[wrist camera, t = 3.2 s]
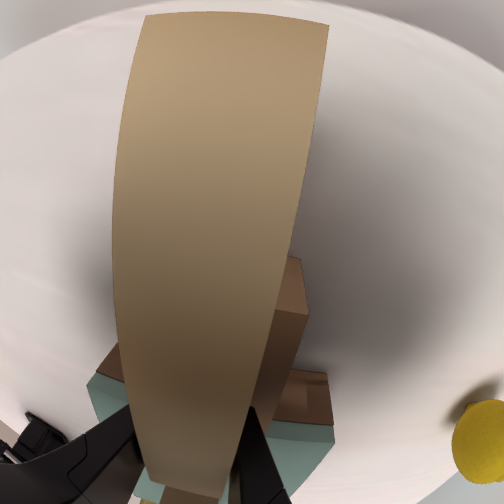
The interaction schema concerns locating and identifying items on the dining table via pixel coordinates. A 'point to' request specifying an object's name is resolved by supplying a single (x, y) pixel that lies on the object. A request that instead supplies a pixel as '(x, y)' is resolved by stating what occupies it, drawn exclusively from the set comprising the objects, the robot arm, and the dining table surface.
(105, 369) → the brown box
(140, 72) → the tan rectangular bar
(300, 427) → the lid
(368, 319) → the dining table surface
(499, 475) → the lemon
